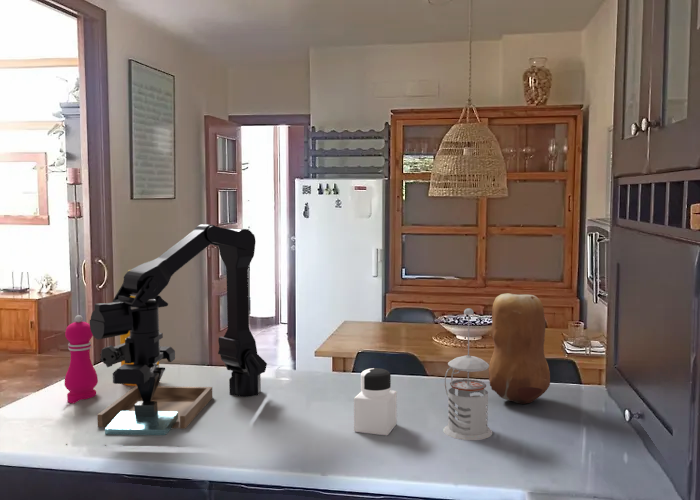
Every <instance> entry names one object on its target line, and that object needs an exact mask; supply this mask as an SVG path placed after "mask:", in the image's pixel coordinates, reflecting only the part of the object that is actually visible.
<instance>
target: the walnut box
mask: <svg viewBox="0 0 700 500" xmlns="http://www.w3.org/2000/svg"><path fill="white" fill-rule="evenodd" d="M213 398H214V397H213V386H173V385H171V386H170V385H169V386H166V385H162V386H161V385H158V386H157V388H156V391H155V393H154V396H153V398H152V401H157V407H158V411H162V412H178V420H177V421H176V422H175V424H174V425H173V427H172V428H171V429H182V430H184V429H185V430H186V429H187V427H188V426H189V425H190V423H192V422H193V421H194V419H195V418H197V416H198V415H199V414H200V413H201V412H202V410H203V409H204V408H205V407H206V406H207V405H208V403H209V402H210V401H211V400H212V399H213ZM137 401H143V400H142V397H141V394H140V392H139V389H138V387H137V386H133V388H131V389H129V390H128V391H127V392H125V393H124V394H123V395H121V396H120V397H119V398H117V399H116V400H115V401H113V402H112V403H110V404H109V406H107V407H105V408H104V409H103V410H101V411H100V412H99V413H97V414H96V416H97V417H96V418H97V428H106V427H107V426H108V425H109V424H110V423H111V421H112V420H113V419H114V418H115V417H116V416H117V415H118V414H119V413H120V411H135V407H134V405H135V404H136V403H137Z"/></svg>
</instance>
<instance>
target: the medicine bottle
mask: <svg viewBox="0 0 700 500" xmlns="http://www.w3.org/2000/svg"><path fill="white" fill-rule="evenodd" d="M391 376H392V375H391V372H390V371H389V370H387V369H385V368H379V367H378V368H374V367H373V368H367V369H365V370H362V372H360V392H359V393H358V394H357V395H356V396H355V397H354V398H353V431H354V432H356V433H363V434H371V435H378V436H388V435H390V433H391V431H392V430H393V429H394V428H395V427H396V425H397V424H398V418H397V417H398V415H397V414H398V413H397V412H398V410H397V409H398V404H397V403H398V392H397V391H396V390H391V389H392V388H391V387H392V386H391V384H392V383H391V381H392V379H391Z"/></svg>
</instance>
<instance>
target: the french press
mask: <svg viewBox="0 0 700 500" xmlns="http://www.w3.org/2000/svg"><path fill="white" fill-rule="evenodd" d="M463 315H467V316H468V317H467V354H466V355H462V356H457V357H455V358H454V359H451V360H450V361H449V362H447V365H448V367H449V368H447V370H446V372H445V375H444V387H445V392H446V395H447V396H446V397H447V398H448V400H447V401H448V402H447V403H448V407H447V408H448V409H447V411H448V415H447V417H448V418H447V423H448V424H447V425H446V426H444V427H443V433H444V434H445V435H446V436H447V437H450V438H454V439H458V440H463V441H480V440H485V439H487V438H490V437H492V435H493V431H492V429H491V428H490V427H489V426H488V411H489V410H488V409H489V407H488V404H489V392H488V390H486V387H487V383H485V382H484V381H482V380H477V379H470V373H471V372H472V373H473V372H482V371H486V370H488V369H489V364H490V363H488V362H487V361H486V360H484V359H482V358H480V357H478V356H473V355H470V316H471V315H472V316H473V315H474V309H472V308H464V311H463ZM451 369H452V372H451V376H450V377H451V379H450V382H449V385H450V388H449V389H448V388H447V379H446V378H447V375H448V372H449V371H450V370H451ZM455 370H457V372H455ZM461 371H462V372H467V378H459V379H454V380H453V376H454V375H456V374H460V373H461ZM456 390H457V395H456ZM473 393H480V394H481V395H471V394H473ZM456 405H457V407H456Z"/></svg>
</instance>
